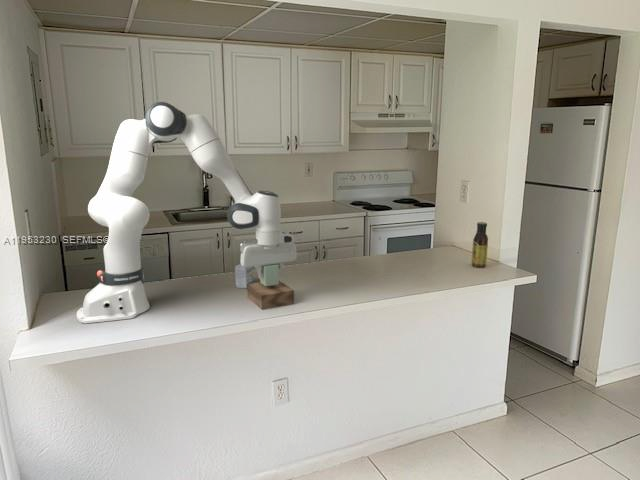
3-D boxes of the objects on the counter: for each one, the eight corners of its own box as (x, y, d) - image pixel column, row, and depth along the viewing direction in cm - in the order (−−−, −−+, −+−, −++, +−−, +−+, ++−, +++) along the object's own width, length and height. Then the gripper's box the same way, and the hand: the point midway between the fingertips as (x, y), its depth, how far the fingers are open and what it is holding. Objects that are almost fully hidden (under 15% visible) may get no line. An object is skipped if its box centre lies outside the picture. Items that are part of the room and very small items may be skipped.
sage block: (265, 286, 165) (265, 266, 163) (260, 282, 169) (259, 263, 168) (278, 284, 167) (278, 265, 166) (273, 280, 172) (272, 261, 170)
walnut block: (261, 309, 161) (261, 295, 160) (247, 297, 173) (247, 284, 172) (293, 303, 167) (293, 290, 165) (277, 292, 178) (277, 279, 177)
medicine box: (246, 288, 183) (245, 267, 181) (235, 287, 183) (234, 266, 181) (253, 282, 190) (252, 261, 188) (243, 281, 191) (242, 261, 189)
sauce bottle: (471, 263, 216) (474, 220, 212) (485, 264, 215) (489, 221, 210) (471, 267, 210) (474, 223, 206) (486, 268, 209) (489, 224, 204)
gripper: (243, 243, 157) (244, 282, 160) (298, 236, 167) (299, 274, 170) (236, 239, 162) (238, 277, 166) (291, 233, 172) (291, 270, 175)
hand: (269, 276), depth 168 cm, fingers closed on sage block, 5 cm apart
